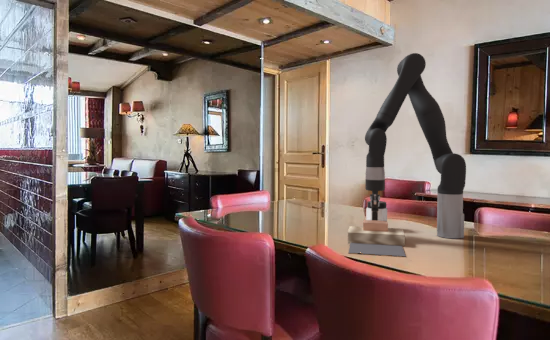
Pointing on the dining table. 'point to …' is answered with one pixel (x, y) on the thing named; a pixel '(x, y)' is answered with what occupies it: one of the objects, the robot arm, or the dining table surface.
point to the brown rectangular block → (375, 225)
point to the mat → (377, 249)
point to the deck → (376, 236)
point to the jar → (381, 211)
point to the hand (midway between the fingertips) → (374, 221)
